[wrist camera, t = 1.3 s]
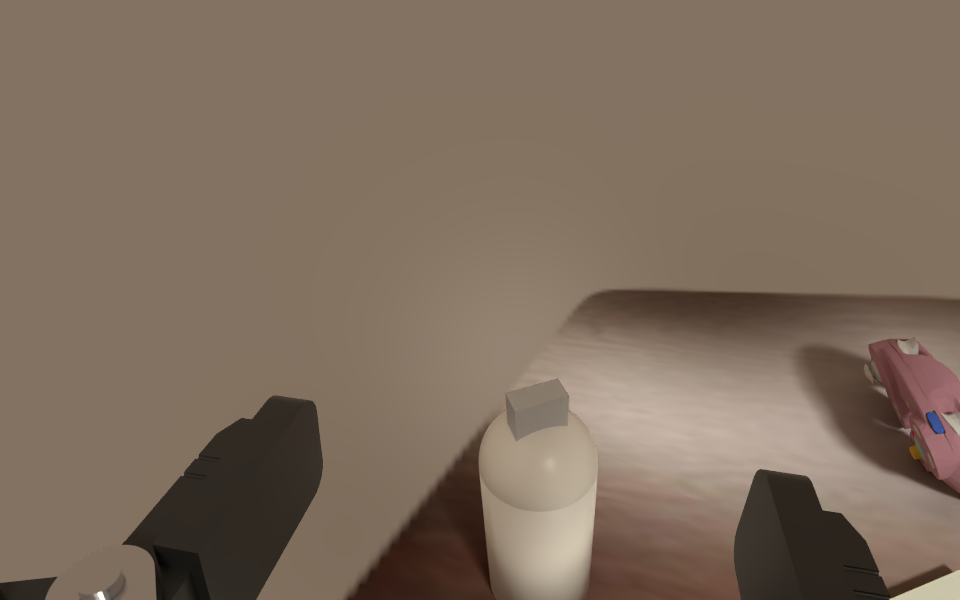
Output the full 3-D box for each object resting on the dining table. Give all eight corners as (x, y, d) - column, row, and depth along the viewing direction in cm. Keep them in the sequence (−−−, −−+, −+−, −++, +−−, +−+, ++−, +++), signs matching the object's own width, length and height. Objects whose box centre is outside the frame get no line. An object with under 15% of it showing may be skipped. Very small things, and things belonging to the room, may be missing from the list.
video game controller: (869, 400, 42) (845, 326, 38) (947, 380, 40) (929, 301, 37) (937, 531, 34) (915, 452, 31) (1038, 514, 32) (1026, 428, 29)
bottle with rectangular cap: (563, 520, 34) (568, 339, 26) (607, 605, 30) (627, 421, 23) (477, 550, 33) (456, 370, 25) (510, 642, 29) (497, 461, 21)
